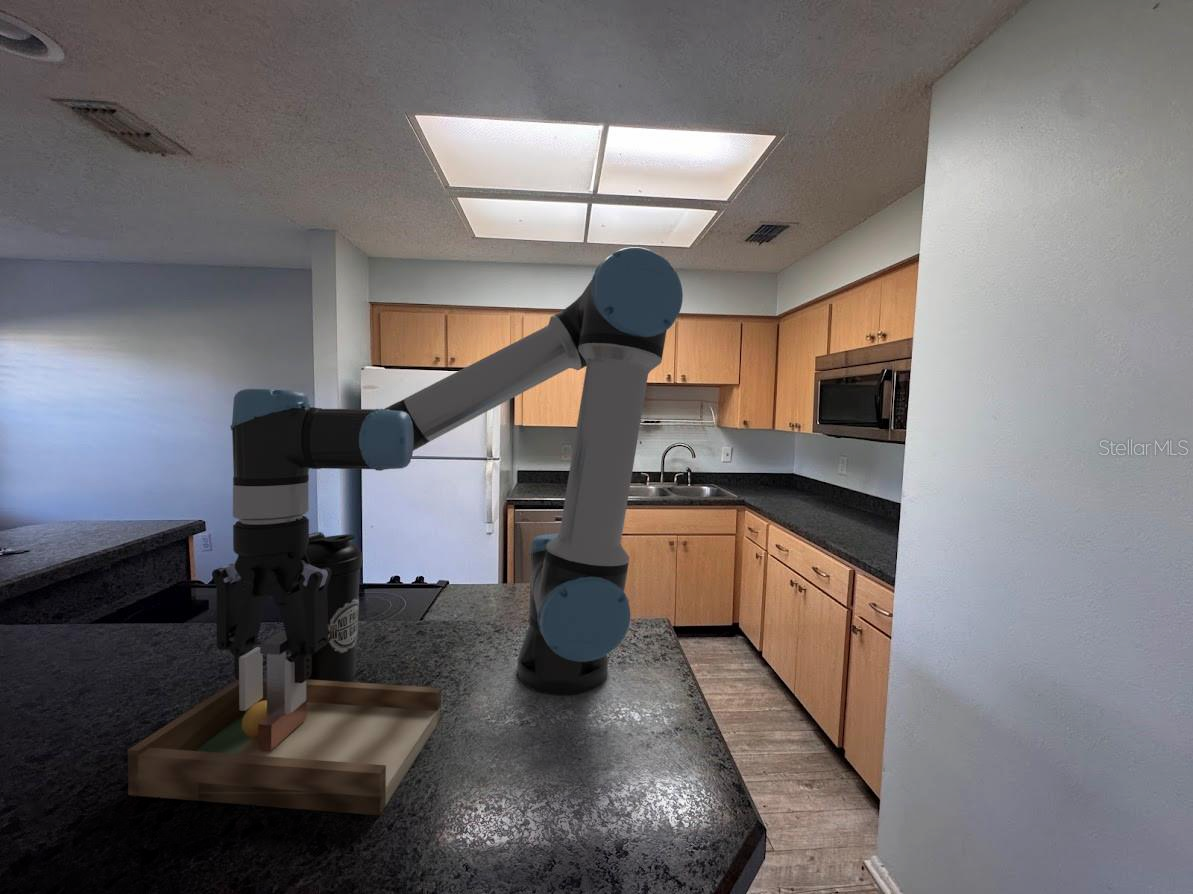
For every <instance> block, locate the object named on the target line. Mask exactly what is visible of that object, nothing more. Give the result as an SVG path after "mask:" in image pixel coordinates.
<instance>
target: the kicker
mask: <svg viewBox="0 0 1193 894" xmlns="http://www.w3.org/2000/svg"><path fill="white" fill-rule="evenodd" d="M259 645H260V646H259V647H260V654H263V655H266V677H267V715H269V716H268V717H267V718H266V719H264V720H263V721H262V722H261V723H259V724H258V749H261V750H272V749H273V748H274V747H276V746H277V745H278V744H279V743H280V742H281V741H282V740H283V739H284V738H285V737H287V736H288V735H289V734H290V733H291V732H292V731H293V730H294V729H295V728H297V727H298V726H299V725H300V724H301V723H302V722H303V721H304V720H305V719H306V718H307V696H306V701H305V702H304V703H302V704H301V705H300V706H299V707H298V708H297V709H295V710H294V711H293V712H292V713H285V659H287V658H288V657H290V656H291V652H290V648H289V644H288V640H287V637H286V633H285V629H283V630H281V631H280V632H278V633H276V634H274V635H273V636H271V637H269V638H268V639H266V640H264V641H261V642H260V643H259Z"/></svg>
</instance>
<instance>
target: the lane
mask: <svg viewBox="0 0 1193 894" xmlns="http://www.w3.org/2000/svg"><path fill="white" fill-rule="evenodd" d="M306 696H307V718H306V719H305V720H304V721H303V722H302V723H301V724H300V725H299V726H298V727H297V728H295V729H294V730H293V731H292V732H291V733H290V734H289V735H288V736H287V737H285V738H284V739H283V740H282V741H281V742H280V743H279V744H278V745H277V746H276V747H274V748H273V749H272V750H261V749H258V738H253V737H249V736H247V735H246V734H245V733H244V731H243V729H242V719H243V717H244V715H245V713H246V712H247V710H248V709H249V708H248V709H247V710H246V711H242V710H239V680H236V679H235V680H234V681H233V682H232V683H230V684H228V685H226V686H225V687H223V688H222V689H220V690H218V691H217V692H216V693H214V694H213V695H211V696H209V697H207V698H206V699H205V700H203V701H202V702H200V703H199V704H197V705H195V706H194V707H192V708H191V709H189V710H187V711H186V712H185V713H182V714H181V715H180V716H179V717H176V718H175V719H174V720H172V721H171V722H169V723H167V724H166V725H165V726H163V727H161V728H159V729H158V730H156V731H155V732H153V733H152V734H150V735H149V736H147V737H146V738H144V739H142V740H141V741H139V742H138V743H136V744H135V745H133V746H131V747H130V748H128V749H127V783H128V784H127V785H128V786H127V787H128V789H127V791H128V792H127V793H128V796H133V797H134V796H137V797H147V798H159V797H160V799H172V800H173V799H174V800H183V801H185V800H186V801H194V802H195V801H196V802H211V803H221V804H222V803H223V804H234V805H235V804H236V805H245V806H246V805H247V806H257V807H258V806H259V807H271V808H283V809H294V810H306V811H320V812H321V811H322V812H331V813H332V812H333V813H344V814H355V815H357V814H358V815H369V816H381V814H382V813H383V812H384V809H385V808H386V806H387V805H388V803H389V801H390V800H391V798H392V797H393V795H394V793H395V792H396V790H397V789H398V787H399V786H400V785H401V783H402V781H403V779H404V778H405V777H406V774H407V773H408V772H409V770H410V768H411V767H412V766H413V763H414V762H415V760H416V759H417V757H418V756H419V755H420V753H421V751H422V750H423V748H424V747H425V745H426V744H427V742H428V740H429V738H430V737H431V735H432V734H433V733H434V731H435V730H436V728H437V726H438V725H439V723H440V721H441V719H442V718H441V717H442V687H433V686H416V685H399V684H384V683H370V682H369V683H368V682H355V681H353V682H352V681H350V682H340V681H324V680H309V679H307V680H306ZM265 700H267V676H263V698H262V699H260V700H259V701H258V702H261V701H265ZM258 702H256V703H258ZM256 703H255V704H256ZM252 706H253V705H252ZM252 706H251V707H252Z"/></svg>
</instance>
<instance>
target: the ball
mask: <svg viewBox="0 0 1193 894" xmlns="http://www.w3.org/2000/svg"><path fill="white" fill-rule="evenodd" d="M268 716H269V715H267V700H265V701H261V702H258V703H256V704H254V705H253V706H252V707H250V708H249V709H248V710H247V712H246V713H245V715H244V717H243V719H242V729H243V731H244V733H245V734H246V735H247V736H249V737H253V738H258V724H259V723H261V722H262V721H263V720H264V719H266V718H267V717H268Z"/></svg>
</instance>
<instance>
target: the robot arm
mask: <svg viewBox="0 0 1193 894" xmlns="http://www.w3.org/2000/svg"><path fill="white" fill-rule="evenodd" d="M683 297H684V296H683V287H682V282H681V279H680V278H679V275H678V273H677V272H676V271H675V270H674V268H673V265H671V263H670V262H669V261H668V260H667V259H666V258H665V257H664V256H662V255H661V254H659V253H657V252H656V251H653V250H651V249H648V248H645V247H638V246H636V247H634V246H633V247H624V248H621V249H618V250H617V251H615V252H613V253H611V254H610V255H609V256H608V257H607V258H606V259H603V261H602V262H601V263H599V264H598V266H597V267H596V269H595V271H594V274H593V276H592V279H591V280H590V282H589V283H588V284H587V286H586V288H585V289H584V291H583V292H582V293H581V294H580V296H579V297H577V298H576V299H575V301H573V302H572V303H571V304H570V305H568V306H567V307H565V308H564V309H562V310H561V311H559V312H557V313H555V314H552V315H551V316H550V318H549V321H548V324H547V325H546V326H544V327H543V328H540V329H538V330H536V331H535V332H532V333H531V334H528V335H527V336H523V338H521V339H519V340H517V341H515V342H513V343H511V344H509V345H506V346H505V347H503V348H501V349H499V350H497V351H495V352H493V353H491V354H489V355H486V357H484V358H482V359H479V360H477V361H475V362H473V363H472V364H470V365H468V366H465V367H464V368H461V369H460V370H458V371H456V372H454V373H452V374H450V375H448V376H446V377H444V378H442V379H440V380H438V381H436V382H434V383H433V384H430V385H428V386H427V387H424V388H423V389H421V390H419V391H417V392H415V393H413V394H411V395H409V396H407V397H405V398H404V399H401V400H399V401H397V402H395V403H393V404H390V405H389V406H386V407H385V408H374V409H373V408H369V409H368V408H367V409H366V408H321V407H316V406H315V407H313V406H311V404H310V403H309V396H308V394H306V393H305V392H303V391H300V390H287V389H269V388H244V389H241V390H239V391H237V392H236V393H235V395H234V397H233V404H232V418H231V419H232V420H231V422H232V423H231V424H230V430H231V433H232V435H231V436H232V463H233V464H232V468H233V477H232V517H233V518H235V519H236V520H238V521H236V522H235V523H234V524H233V526H232V529H233V530H232V532H233V533H232V537H233V538H232V540H233V542H232V543H233V545H232V547H233V552H234V553H235V554H236V555H238V556H237V558H236V560H235V562H234V563H230V564H227V565H224V566H222V567H219V568H216V569H213V570H212V572H211V576H212V579H213V583H214V584H215V588H216V648H217V649H218V650H220V651H224V650H227V651H229V652H231V655H232V656H233V657H234V659H233V660H234V661H233V662H234V663H233V664H234V668H233V669H234V678H235V681H236V680H239V710H242V711H246V710H247V709H248V708H250V707H251V706H252V705H254V704H255V703H256V702H258V701H259V700H260V699H262V698H263V677H264V675H263V673H264V672H263V669H264V668H263V667H264V666H263V665H264V664H263V662H264V661H263V655H264V654H260V646H257V645H258V644H259V645H260V644H261V640H259V639H258V636H259V632H260V629H261V625H262V621H263V616H264V613H265V609H266V604H267V600H268V597H269V596H270V597H272V599H273V602H274V605H276V606H278V609H279V613H280V617H281V620H282V624H283V628H284V629H283V630H285V633H286V637H287V640H288V644H289V648H290V652H291V656H290V657H288V658H287V659H285V713H292V712H293V711H294V710H295V709H297V708H298V707H299V706H300V705H301V704H302V703H304V702H305V701H306V680H307V679H308V678H309V677H310V676H311V673H312V669H311V668H312V666H311V665H312V654H313V653H315V652H316V651H318V650H319V649H321V648H322V647H323V646H325V645H326V644H327V643H328V602H327V586H328V583H329V580H330V577H331V574H332V571H331V569H330V568H328V567H326V568H323V569H319V568H317V567H314V566H312V565H310V562H309V559H308V557H307V555H306V549H307V546H308V543H309V534H310V530H309V529H310V525H309V524H310V523H309V522H310V519H309V518H308V517H307V516H305V514H307V513H308V512H309V508H310V507H309V481H310V480H309V479H310V478H309V477H310V476H309V471H310V469H312V470H320V469H328V470H329V469H338V470H339V469H341V470H342V469H343V470H375V471H385V470H394V469H395V470H397V469H398V470H399V469H401V470H402V469H404V468H406V467H408V466H409V464H410V463H411V460H412V458H413V453H414V451H416V450H418V449H419V448H421V447H423V446H425V445H427V444H428V443H431V442H432V441H434V440H436V439H437V438H439V437H441V436H443V435H446V434H447V433H448V432H451V431H453V430H455V429H456V428H458V427H460V426H462V425H464V424H466V423H468V422H470V421H471V420H474V419H475V418H477V417H479V416H482V415H483V414H485V413H486V412H489V411H490V410H492V409H494V408H496V407H498V406H500V405H503V404H504V403H506V402H508V401H509V400H512V399H513V398H515V397H517V396H519V395H521V394H523V393H524V392H527V391H528V390H530V389H531V390H532V388H534V387H536V386H538V385H540V384H542V383H544V382H546V381H547V380H549V379H551V378H553V377H555V376H557V375H559V374H560V373H563V372H565V371H567V370H569V369H573V370H575V371H580V370H581V369H584V368H585V373H584V378H583V380H584V381H583V385H582V386H583V387H582V392H581V400H580V404H579V405H580V406H579V410H578V417H577V423H576V428H575V429H576V430H575V434H574V441H573V447H572V448H573V449H572V454H571V455H572V456H571V461H570V466H569V472H568V478H567V479H568V480H567V484H566V485H567V486H566V490H565V497H564V503H563V510H562V516H561V522H560V528H559V529H560V530H559V533H547V534H546V533H545V534H541V535H537V536H535V537H534V538H532V541H531V544H530V551H529V556H530V575H529V576H530V578H529V579H530V580H529V613H528V614H529V620H528V621H529V622H528V628H527V630H526V634H525V636H524V639H523V642H522V645H521V647H520V650H519V653H518V657H517V676H518V679H519V680H520V681H521V683H523V685H525V686H527V687H528V688H529V689H532V690H534V691H536V692H540V693H544V694H547V695H548V694H549V695H561V696H562V695H575V694H579V693H584V692H587V691H589V690H593V689H594V688H596V687H597V686H599V685H601V684H602V683H603V682H604V681H605V679H606V678H607V675H608V671H609V670H608V667H609V666H608V665H609V662H608V661H609V658H608V654H609V653H611V652H612V651H613V650H615V649H616V648H617V647H619V645H620V644H621V643H622V642H623V640H624V639H625V637H626V635H627V633H628V631H629V628H630V624H631V617H632V615H631V614H632V613H631V608H630V607H631V606H630V605H629V604H630V602H629V599H628V596H627V595H626V593H625V587H626V582H627V576H628V569H629V562H630V556H629V555H628V553H627V552H626V550H625V549H624V547H623V546H622V537H623V531H624V525H625V520H626V519H625V518H626V513H627V507H628V500H629V494H630V488H631V483H632V476H633V471H634V470H633V469H634V463H635V458H636V457H635V456H636V451H637V445H638V438H639V433H640V427H641V421H642V416H643V415H642V414H643V408H644V401H645V396H646V391H647V390H646V389H647V384H648V377H649V374H650V372H651V371H653V370H654V369H656V368H657V367H659V365H661V364H662V361H663V354H664V349H665V343H666V336H667V331H668V330H669V329H670V328H671V327H672V326H673V325H674V323H676V322H675V321H676V320H677V317H678V316H679V314H680V311H681V310H682V306H683V301H684V300H683V299H684V298H683ZM303 576H304V577H305V581H304V582H303V584H304V586H306V589H305V607H304V603H303V599H302V595H303V593H304V590H303V586H302V582H301V579H302V578H303ZM255 646H256V647H255ZM254 647H255V648H254Z"/></svg>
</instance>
